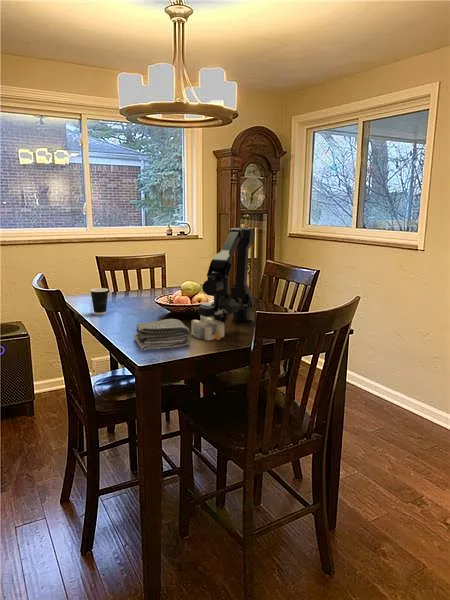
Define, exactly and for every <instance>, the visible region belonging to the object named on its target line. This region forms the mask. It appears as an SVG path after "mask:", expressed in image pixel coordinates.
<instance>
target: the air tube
mask: <svg viewBox="0 0 450 600" xmlns="http://www.w3.org/2000/svg"><path fill="white" fill-rule="evenodd" d="M209 324H211V325H212V335H214V334H215V332H218V325H216V324H213V323H209ZM193 337H194V338H196V339H199V340H202V339H205V327H202V326H199V325H198V326H194V335H193Z"/></svg>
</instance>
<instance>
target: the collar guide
mask: <svg viewBox="0 0 450 600" xmlns="http://www.w3.org/2000/svg"><path fill="white" fill-rule="evenodd" d="M209 323H213V324H216V325H218V332H215V334H214V335H212V325H211V324H209ZM190 324H191V325H190V326H191V328H190V329H191V335H192V336H194V326H202V327H205V338H204V340H205V341H211V340H217V341H220V340H221V339H222V338H225V324H224V322H221V321H218V320H215V319H212V318H209V317H207V318H204V322H202V321H200V320H198V319H192V320H191V323H190Z"/></svg>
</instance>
